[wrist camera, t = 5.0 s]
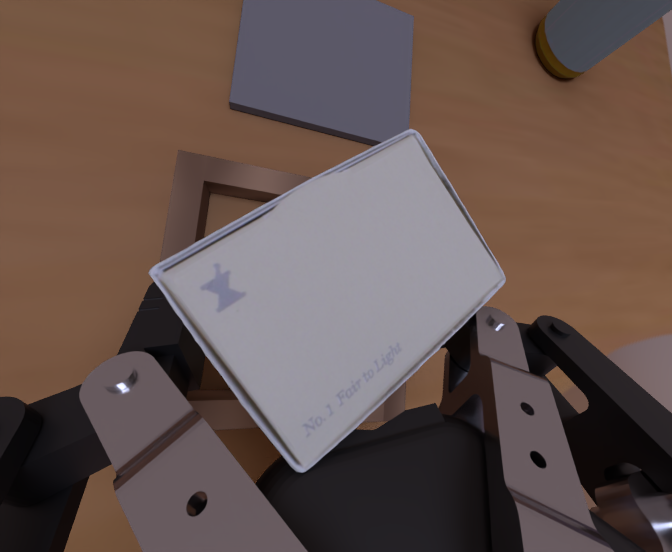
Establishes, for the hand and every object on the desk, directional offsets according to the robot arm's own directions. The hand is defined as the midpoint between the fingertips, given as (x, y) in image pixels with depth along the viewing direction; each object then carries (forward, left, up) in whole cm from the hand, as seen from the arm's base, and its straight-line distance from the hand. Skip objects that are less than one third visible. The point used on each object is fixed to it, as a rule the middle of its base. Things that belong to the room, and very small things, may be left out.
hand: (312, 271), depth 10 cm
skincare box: (0, -1, -7) cm, 7 cm away
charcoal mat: (+1, +17, -7) cm, 18 cm away
